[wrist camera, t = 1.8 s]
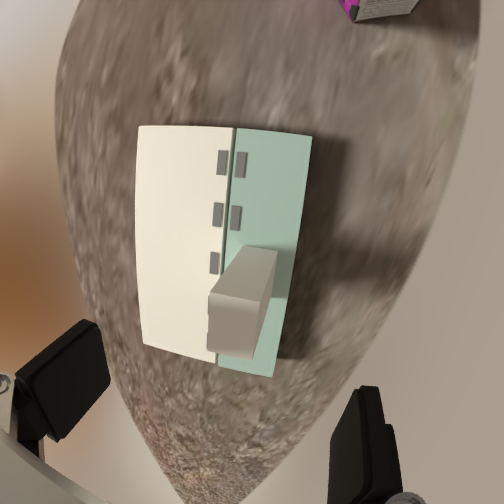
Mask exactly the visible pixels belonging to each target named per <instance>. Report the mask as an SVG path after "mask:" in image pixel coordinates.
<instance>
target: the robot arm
mask: <svg viewBox="0 0 504 504" xmlns="http://www.w3.org/2000/svg"><path fill="white" fill-rule="evenodd" d="M15 376H16V379H15V380H14V379H13V377H12V376H11V375H10V374H9V373H7V372H0V504H111V503H109V502H108V501H106V500H104V499H102V498H100V497H98V496H96V495H95V494H93V493H91V492H89V491H88V490H86V489H84V488H83V487H81V486H79V485H78V484H76V483H74V482H73V481H71V480H70V479H68V478H66V477H65V476H63V475H62V474H60V473H59V472H57V471H56V470H54V469H53V468H52V467H50V466H49V465H47V464H46V463H45V457H44V441H43V437H44V436H45V435H46V434H47V436H48V437H49V438H51V439H52V440H54V441H55V442H57V443H58V442H59V440H60V439H63V438H65V437H66V436H67V435H68V434H69V432H70V431H71V430H72V429H73V428H74V426H75V425H76V424H77V423H78V422H79V421H80V419H81V418H82V417H83V416H84V415H85V413H86V412H87V411H88V410H89V408H91V406H92V405H93V404H94V403H95V402H96V400H97V399H98V398H99V397H100V396H101V395H102V393H103V392H104V391H105V390H106V389H107V387H108V386H109V385H110V381H111V378H110V374H109V369H108V365H107V361H106V356H105V351H104V346H103V341H102V336H101V331H100V329H99V328H98V325H97V324H96V323H94V322H91V321H88V320H86V319H82V320H81V321H79V322H78V323H77V324H75V325H74V326H73V327H72V328H70V329H69V330H68V331H66V332H65V333H64V334H63V335H62V336H60V337H59V338H58V339H56V340H55V341H54V342H53V343H51V344H50V345H49V346H48V347H47V348H45V349H44V350H43V351H41V352H40V353H39V354H38V355H37V356H35V357H34V358H33V359H32V360H30V361H29V362H28V363H27V364H26V365H24V366H23V367H22V368H21V369H20V370H18V371H17V372H16V373H15ZM327 504H426V503H425V501H424V500H423V498H421V497H420V496H419V495H417V494H414V493H410V492H403V487H402V479H401V471H400V464H399V458H398V452H397V445H396V440H395V434H394V429H393V426H392V425H391V424H385V419H384V413H383V407H382V402H381V397H380V392H379V389H378V387H376V386H364V385H362V386H361V387H360V388H359V389H355V390H354V391H353V393H352V396H351V398H350V400H349V402H348V404H347V406H346V408H345V410H344V413H343V414H342V417H341V418H340V421H339V423H338V425H337V426H336V428H335V431H334V432H333V434H332V437H331V441H330V462H329V484H328V499H327Z"/></svg>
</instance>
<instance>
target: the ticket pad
mask: <svg viewBox="0 0 504 504" xmlns="http://www.w3.org/2000/svg"><path fill="white" fill-rule="evenodd" d="M236 134H237V129H234V128H225V127H206V126H139V132H138V146H137V163H136V190H135V237H136V264H137V282H138V295H139V307H140V318H141V327H142V336H143V343H144V344H147V345H150V346H154V347H157V348H160V349H164V350H167V351H170V352H174V353H177V354H181V355H185V356H188V357H192V358H196V359H200V360H204V361H208V362H212V363H215V362H216V360H217V358H218V356H219V354H217V353H213V352H209V351H207V349H208V318H209V294H210V291H211V289H212V288H213V287H214V285H215V284H216V282H217V281H218V280H219V278H220V277H221V275H222V274H223V273H224V266H225V253H226V241H227V228H228V217H229V205H230V194H231V183H232V173H233V163H234V153H235V143H236Z"/></svg>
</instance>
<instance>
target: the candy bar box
mask: <svg viewBox="0 0 504 504" xmlns="http://www.w3.org/2000/svg"><path fill="white" fill-rule="evenodd" d="M420 1H421V0H339V2H340V3H341V5H342V7H343V8H344V10H345V11H346V13H347V15H348V16H349V18H350V20H351V22H359V21H365V20H369V19H373V18H377V17H384V16H394V15H402V14H411V13H412V12H413V10H414V9H415V8H416V6H417V5H418V4H419V2H420Z"/></svg>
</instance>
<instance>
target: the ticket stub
mask: <svg viewBox="0 0 504 504" xmlns="http://www.w3.org/2000/svg"><path fill="white" fill-rule="evenodd" d="M311 143H312V136H305V135H298V134H290V133H282V132H274V131H264V130H254V129H242V128H237V134H236V143H235V153H234V163H233V173H232V183H231V194H230V205H229V217H228V228H227V241H226V253H225V266H224V273H223V274H222V275H221V277H220V278H219V280H218V281H217V282H216V284H215V285H214V287H213V288H212V289H211V291H210V294H209V318H208V349H207V351H209V352H213V353H217V354H219V359H218V366H221V367H225V368H229V369H234V370H238V371H243V372H248V373H252V374H257V375H263V376H268V377H272V375H273V371H274V366H275V361H276V356H277V351H278V346H279V341H280V336H281V331H282V326H283V321H284V316H285V310H286V305H287V300H288V294H289V289H290V283H291V277H292V271H293V266H294V260H295V254H296V248H297V241H298V235H299V229H300V222H301V216H302V209H303V202H304V195H305V188H306V181H307V174H308V166H309V158H310V151H311Z"/></svg>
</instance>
